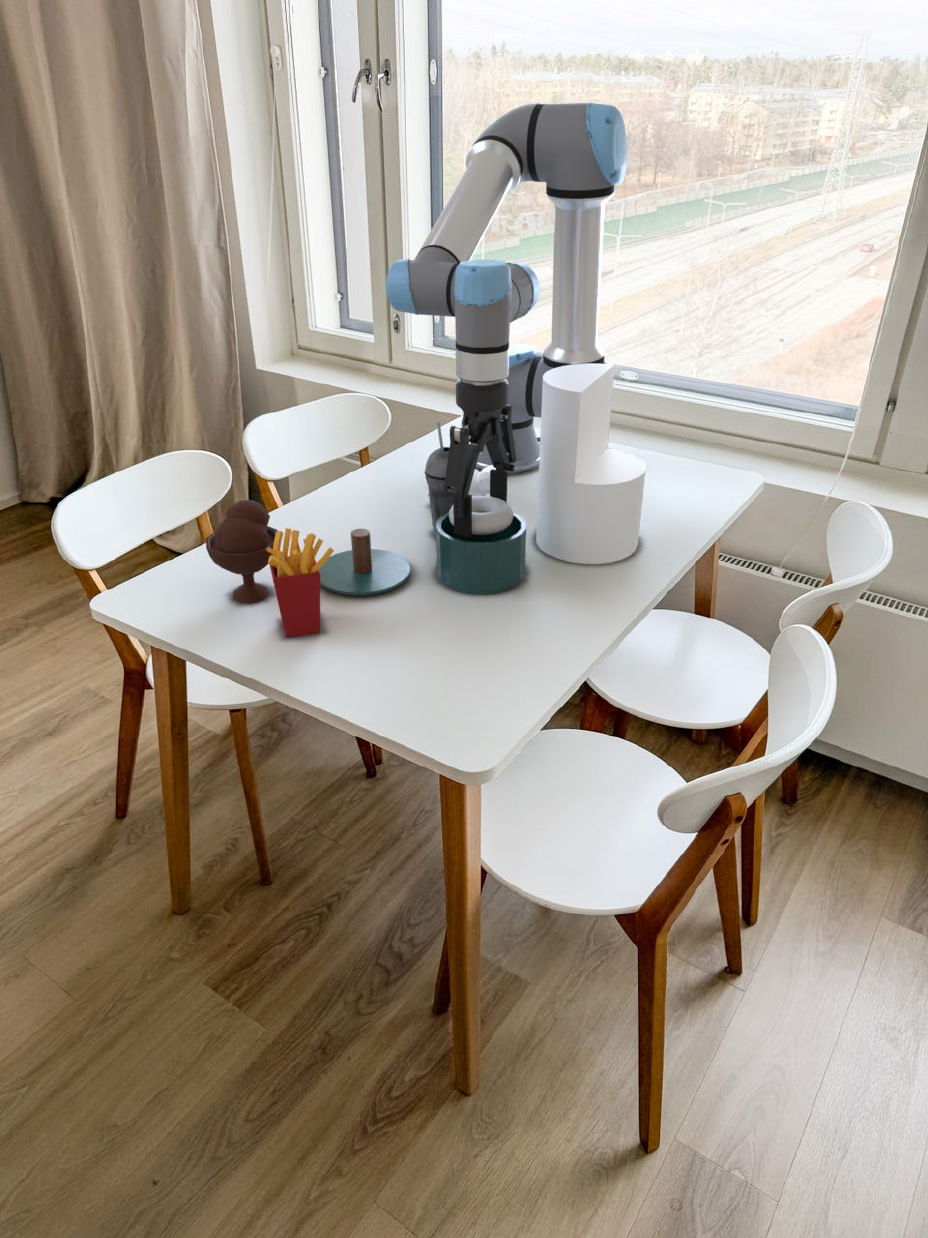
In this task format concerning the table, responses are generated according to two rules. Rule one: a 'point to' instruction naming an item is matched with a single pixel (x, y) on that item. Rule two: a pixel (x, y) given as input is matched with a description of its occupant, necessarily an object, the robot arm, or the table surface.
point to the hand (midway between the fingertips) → (481, 521)
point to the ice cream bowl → (243, 547)
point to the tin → (481, 558)
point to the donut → (488, 515)
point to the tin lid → (363, 568)
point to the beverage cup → (438, 481)
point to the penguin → (480, 482)
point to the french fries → (297, 582)
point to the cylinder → (585, 471)
